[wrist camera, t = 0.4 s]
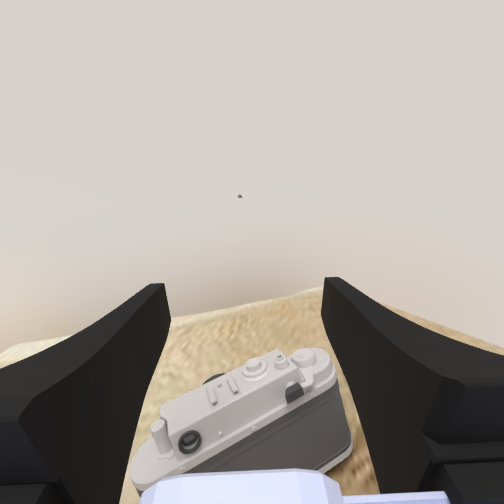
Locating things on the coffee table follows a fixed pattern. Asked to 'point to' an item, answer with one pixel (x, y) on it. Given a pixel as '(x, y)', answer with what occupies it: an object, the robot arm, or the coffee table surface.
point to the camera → (251, 421)
